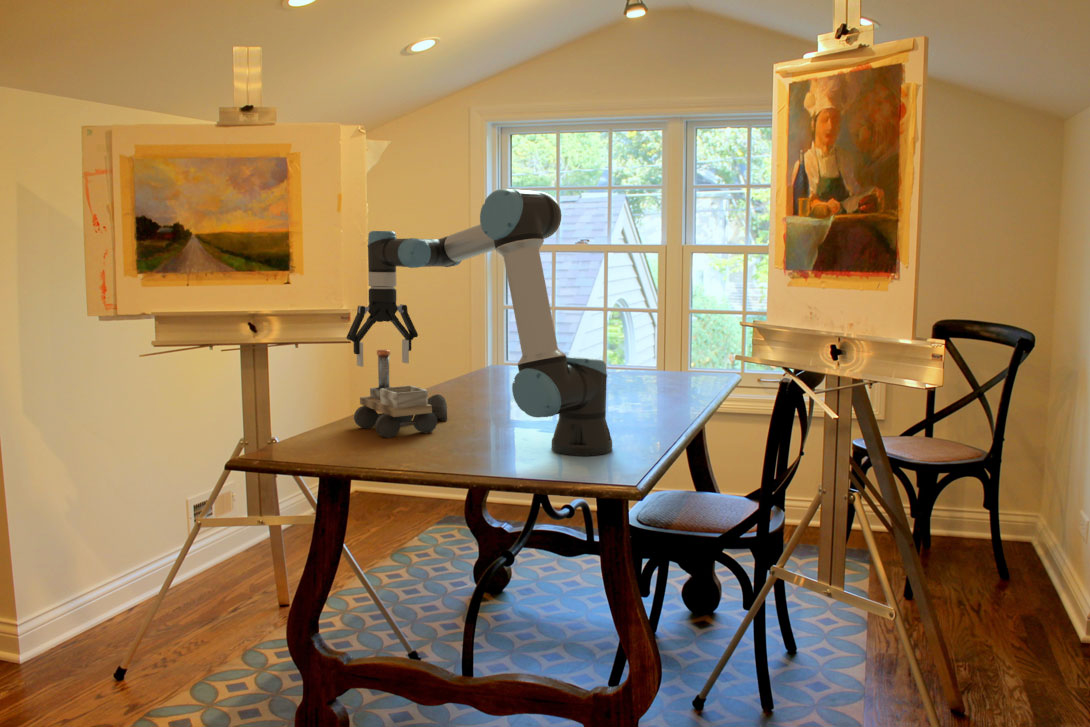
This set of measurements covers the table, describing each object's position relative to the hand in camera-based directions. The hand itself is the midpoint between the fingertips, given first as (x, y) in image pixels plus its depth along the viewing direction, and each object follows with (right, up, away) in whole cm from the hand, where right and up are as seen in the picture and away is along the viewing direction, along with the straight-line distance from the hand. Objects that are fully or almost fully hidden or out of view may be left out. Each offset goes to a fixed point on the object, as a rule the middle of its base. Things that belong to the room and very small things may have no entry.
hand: (383, 364), depth 243 cm
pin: (0, -9, +1) cm, 9 cm away
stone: (+12, -16, +12) cm, 24 cm away
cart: (+4, -18, -4) cm, 19 cm away
